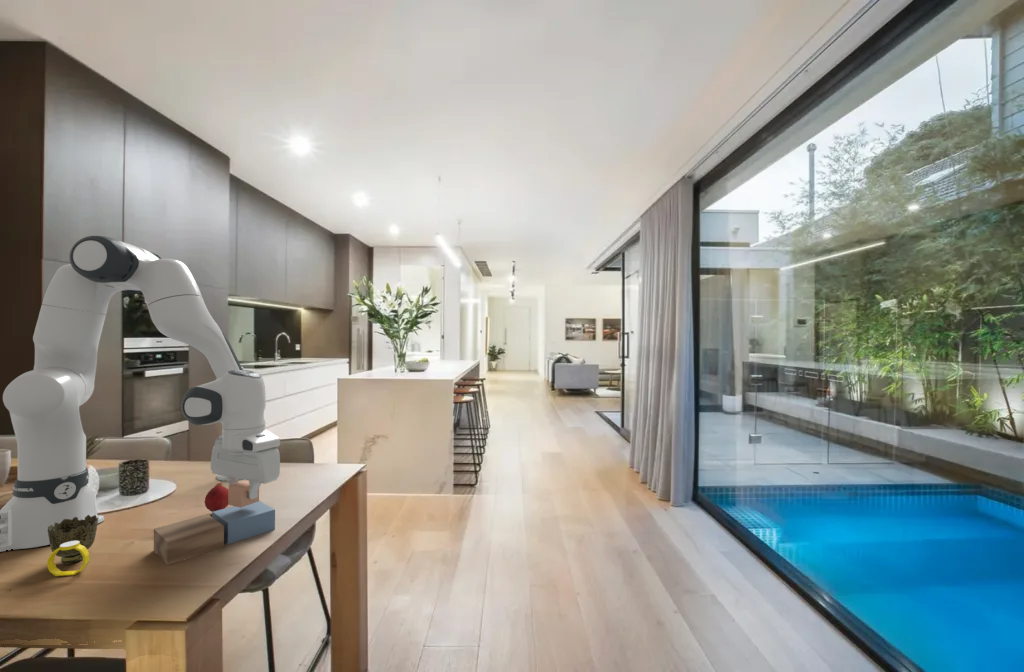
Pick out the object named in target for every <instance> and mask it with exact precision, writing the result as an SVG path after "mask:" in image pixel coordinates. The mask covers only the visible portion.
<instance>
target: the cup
mask: <svg viewBox="0 0 1024 672" xmlns="http://www.w3.org/2000/svg"><path fill="white" fill-rule="evenodd" d="M98 518H99V517H98ZM98 518H97V517H96V515H94V516H92V517H91V516H90V515H87V516H86V517H85V520H83V519H82V520H78V517H74V518H73V519H72V520H71V519H64V520H63V521H62V522H61V523H60V524H58V523H55V524H54V526H53V525H50V526H48V536H49V542H50V544H49V546H50V550H51V553H52V552H53V551H55V550H56V549H58V548H59V547H60V545H61V544H63V543H66V542H69V541H80V544H81V545H83V546H85V547H86V548H87V550H88V551H89V549H90V548H91V547H92V546H93V544H94V543H95V539H96V535H97V530H98V524H99V523H98ZM55 557H59V558H60V562H61V564H63V565H69V564H71V565H72V564H74V563H77V562H79V561H81V560H82V561H83V556H82V554H81V553H80V551H78V550H76V549H70V550H59V551H58V552H57V554H56V555H55Z"/></svg>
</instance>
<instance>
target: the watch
mask: <svg viewBox="0 0 1024 672" xmlns="http://www.w3.org/2000/svg"><path fill="white" fill-rule="evenodd" d="M70 549H76V550H78V551H80V553H81V554H82V556H83V559H82V564H81V565H80V568H79V569H77V570H66V571H64V570H60V568H58V567H57V566H56V563H55V559H56V554H57V552H58V551H59V550H70ZM89 562H90V552H89V549H88V550H87V548H86V547H85V546H83V545H81V544H80V541H69V542H66V543H63V544H61V545H60V547H59V548H58V549H56V550H55V551H53V552H52V551H51V554H50V555H49V556H48V558H47V562H46V566H47V569H48V571H49V573H50V574H52V575H53V576H55V577H65V576H76V575H77V574H78V573H79V572H81V571H82V570H84V569H85V568H86V567H87V565H88V564H89Z"/></svg>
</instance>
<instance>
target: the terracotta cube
mask: <svg viewBox="0 0 1024 672" xmlns="http://www.w3.org/2000/svg"><path fill="white" fill-rule="evenodd" d="M250 486H251V485H249V481H248V480H243V481H238V483H236V484H232V485H228V486H227V487H228V488H227V489H228V506H231V507H233V506H236V507H240V508H242V507H244V506H247V505H250V504H253V503H255V502H258V501H260V488H259V489H258V496H257V497H256V498H254V499H248V498H247V491H249V489H250Z"/></svg>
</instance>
